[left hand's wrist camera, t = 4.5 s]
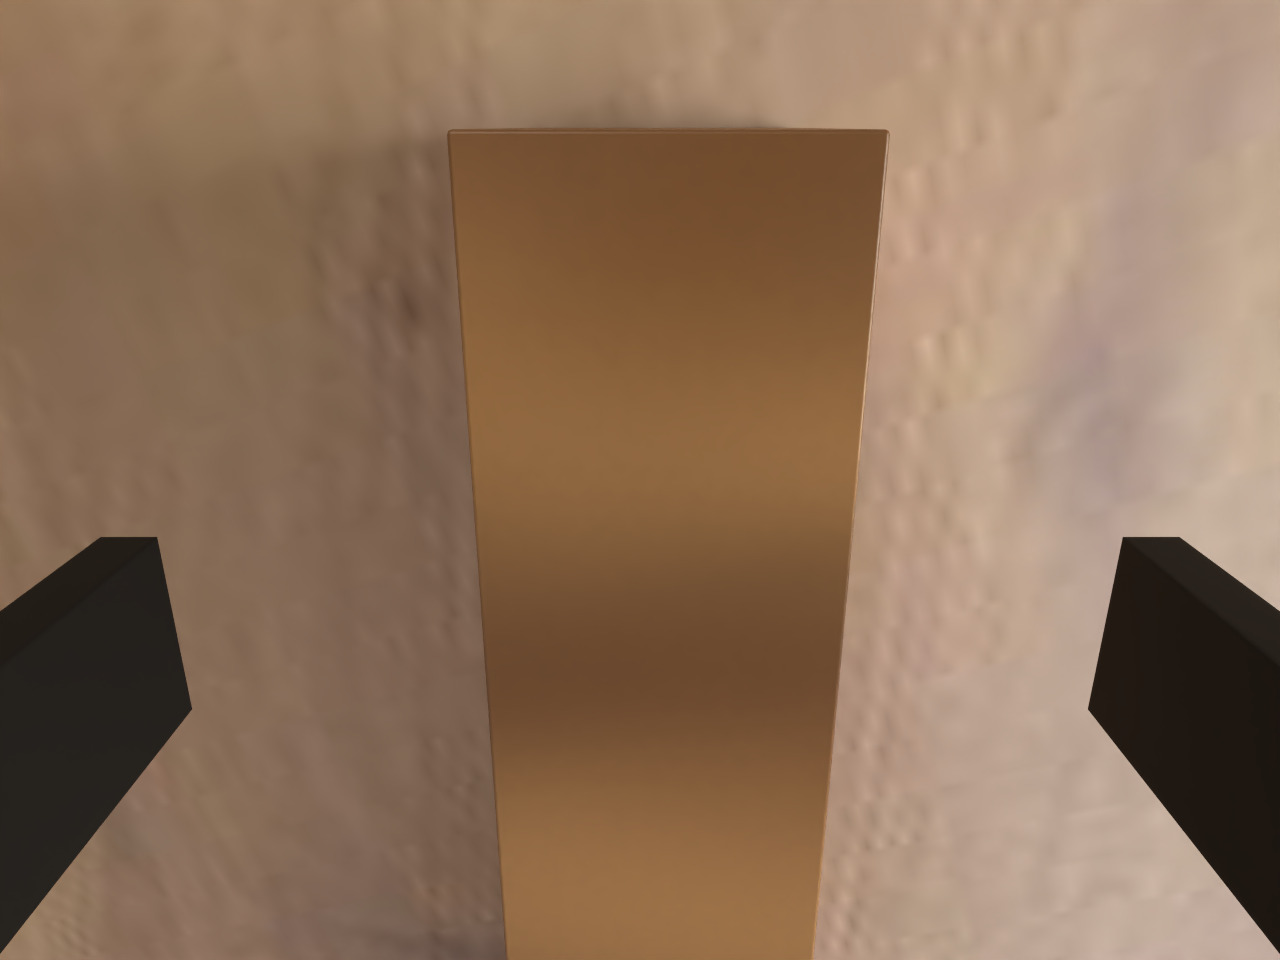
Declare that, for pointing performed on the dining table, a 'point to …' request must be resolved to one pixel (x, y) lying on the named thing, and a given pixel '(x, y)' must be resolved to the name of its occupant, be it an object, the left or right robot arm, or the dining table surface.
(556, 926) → the bar
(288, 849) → the dining table surface
